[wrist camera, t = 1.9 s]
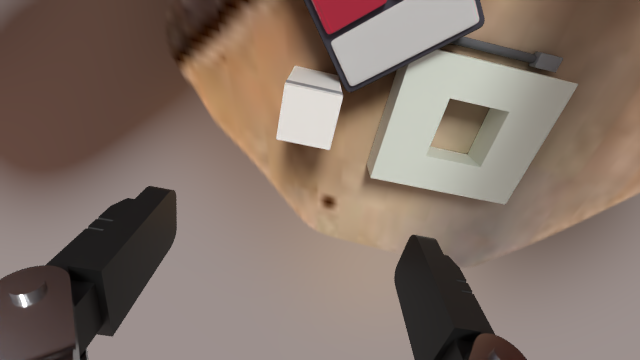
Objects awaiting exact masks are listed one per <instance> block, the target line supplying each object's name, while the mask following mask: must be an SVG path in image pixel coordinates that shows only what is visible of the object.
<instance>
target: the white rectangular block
mask: <svg viewBox="0 0 640 360" xmlns="http://www.w3.org/2000/svg"><path fill="white" fill-rule="evenodd" d="M342 99H343V92H342V90H341V85H340V80H339V76H338V75H334V74H330V73H326V72H321V71H317V70H312V69H308V68H304V67H299V66H294V68H293V70H292V72H291V74H290V75H289V77H288V79H287V80H286V82H285V86H284V93H283V99H282V105H281V112H280V118H279V124H278V131H277V137H276V139H278V140H283V141H288V142H292V143H297V144H302V145H307V146H312V147H317V148H322V149H326V150H330V147H331V143H332V139H333V135H334V131H335V127H336V123H337V119H338V115H339V111H340V107H341V103H342Z"/></svg>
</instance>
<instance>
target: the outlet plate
mask: <svg viewBox="0 0 640 360" xmlns="http://www.w3.org/2000/svg"><path fill="white" fill-rule="evenodd" d="M577 86H578V84H576V83H573V82H569V81H566V80H562V79H559V78H555V77H551V76H547V75H543V74H539V73H535V72H531V71H527V70H523V69H518V68H514V67H510V66H506V65H502V64H498V63H494V62H490V61H486V60H482V59H477V58H473V57H469V56H465V55H461V54H457V53H453V52H449V51H445V50H441V49H437V50H435V51H433V52H431V53H429V54H427V55H425V56H423V57H421V58H419V59H417V60H415V61H414V62H412V63H410V64H408V65H406V66H404V67H402V68H400V69H398V70H397V71H396V74H395V78H394V81H393V84H392V87H391V90H390V93H389V96H388V99H387V102H386V106H385V109H384V112H383V115H382V118H381V121H380V124H379V127H378V130H377V134H376V137H375V140H374V143H373V146H372V149H371V152H370V155H369V158H368V161H367V167H368V171H369V175H370V178H374V179H379V180H384V181H389V182H394V183H399V184H404V185H409V186H414V187H419V188H424V189H429V190H434V191H439V192H444V193H449V194H454V195H459V196H464V197H469V198H474V199H479V200H484V201H489V202H494V203H499V204H504V205H506V203H507V201H508V200H509V198H510V196H511V195H512V193H513V191H514V190H515V188H516V186H517V185H518V183H519V182H520V180H521V178H522V177H523V175H524V173H525V172H526V170H527V168H528V167H529V165H530V163H531V162H532V160H533V158H534V157H535V155H536V154H537V152H538V150H539V149H540V147H541V145H542V144H543V142H544V140H545V139H546V137H547V135H548V134H549V132H550V130H551V129H552V127H553V126H554V124H555V122H556V121H557V119H558V117H559V116H560V114H561V112H562V111H563V109H564V107H565V106H566V104H567V103H568V101H569V99H570V98H571V96H572V94H573V93H574V91H575V89H576V88H577ZM450 98H451V99H455V100H459V101H464V102H468V103H472V104H477V105H481V106H486V107H490V109H489V111H488V113H487V115H486V117H485V119H484V121H483V124H482V126H481V128H480V130H479V132H478V134H477V136H476V138H475V140H474V142H473V144H472V146H471V148H470V150H469V152H468V154H463V153H459V152H454V151H449V150H445V149H440V148H435V147H431V146H430V145H431V142H432V140H433V138H434V135H435V133H436V130H437V128H438V126H439V123H440V121H441V119H442V116H443V114H444V111H445V109H446V107H447V104H448V102H449V99H450Z"/></svg>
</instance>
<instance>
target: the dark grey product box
mask: <svg viewBox="0 0 640 360" xmlns="http://www.w3.org/2000/svg"><path fill="white" fill-rule="evenodd" d="M304 2H305V4H306V6H307V8H308V10H309V13H310V15H311V17H312V19H313V21H314V23H315V25H316V28H317V30H318V32H319V34H320V36H321V38H322V40H323V43H324V45H325V47H326V49H327V51H328V53H329V56H330V58H331V60H332V62H333V64H334V66H335V68H336V71H337V73H338V75H339V77H340V79H341V81H342V83H343V86H344V88H345V89H346V91H347V92H354V91H356V90H358V89H360V88H362V87H364V86H366V85H368V84H370V83H372V82H374V81H376V80H378V79H380V78H382V77H384V76H386V75H388V74H390V73H392V72H394V71H396V70H398V69H400V68H402V67H404V66H406V65H408V64H410V63H412V62H414V61H415V60H417V59H419V58H421V57H423V56H425V55H427V54H429V53H431V52H433V51H435V50H437V49H439V48H441V47H443V46H445V45H447V44H449V43H451V42H453V41H455V40H457V39H459V38H461V37H463V36H465V35H467V34H469V33H471V32H473V31H475V30H477V29H479V28H481V27H482V26H483V24H484V15H483V11H482V7H481V3H480V0H304Z"/></svg>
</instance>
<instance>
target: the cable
mask: <svg viewBox="0 0 640 360" xmlns="http://www.w3.org/2000/svg"><path fill="white" fill-rule="evenodd" d="M451 43H452V44H456V45H460V46H464V47H468V48H472V49H476V50H480V51H484V52H488V53H492V54H496V55H500V56H504V57H508V58H512V59H516V60H521V61H525V62H529V65H528V66H531V67H535V68H539V69H543V70H547V71H551V72H555V73H556V71H557V69H558V67H559V65H560V64H561V62H562V60H563V58H561V57H557V56H553V55H549V54H545V53H541V52H535V54H531V53H527V52H523V51H519V50H515V49H511V48H507V47H503V46H499V45H495V44H491V43H487V42H483V41H479V40H475V39H471V38H467V37H461V38H459V39H457V40H455V41H453V42H451Z"/></svg>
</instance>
